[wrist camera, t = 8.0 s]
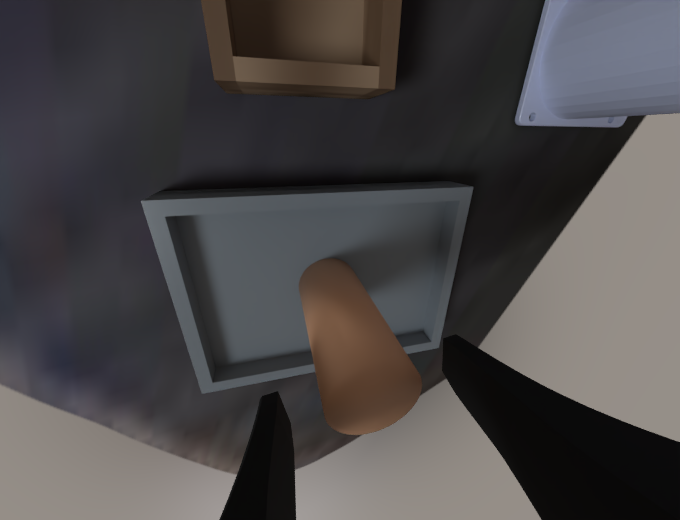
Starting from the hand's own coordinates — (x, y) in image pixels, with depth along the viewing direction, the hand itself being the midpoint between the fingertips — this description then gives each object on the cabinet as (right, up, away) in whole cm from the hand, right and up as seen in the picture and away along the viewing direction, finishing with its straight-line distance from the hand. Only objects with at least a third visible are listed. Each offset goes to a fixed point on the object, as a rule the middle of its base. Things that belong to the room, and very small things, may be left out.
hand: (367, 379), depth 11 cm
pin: (-2, +3, +7) cm, 8 cm away
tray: (-2, +4, +8) cm, 9 cm away
